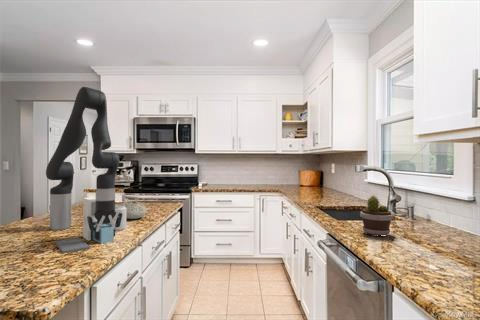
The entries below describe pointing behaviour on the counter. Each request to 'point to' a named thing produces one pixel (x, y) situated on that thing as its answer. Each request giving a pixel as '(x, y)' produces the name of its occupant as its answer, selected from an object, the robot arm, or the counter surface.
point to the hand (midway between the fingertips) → (104, 238)
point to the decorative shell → (134, 209)
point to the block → (104, 233)
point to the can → (122, 210)
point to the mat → (71, 245)
